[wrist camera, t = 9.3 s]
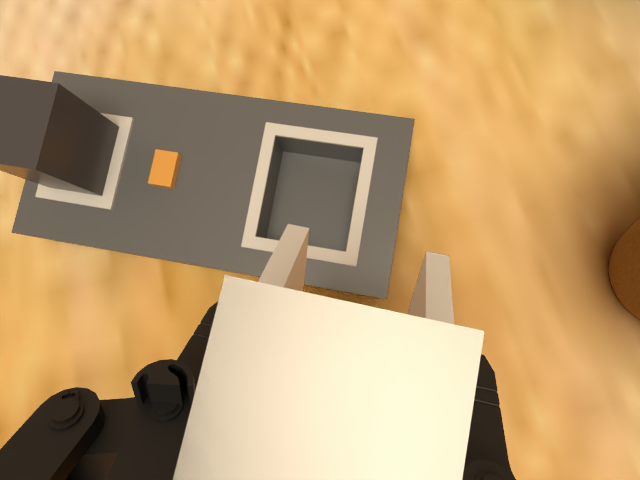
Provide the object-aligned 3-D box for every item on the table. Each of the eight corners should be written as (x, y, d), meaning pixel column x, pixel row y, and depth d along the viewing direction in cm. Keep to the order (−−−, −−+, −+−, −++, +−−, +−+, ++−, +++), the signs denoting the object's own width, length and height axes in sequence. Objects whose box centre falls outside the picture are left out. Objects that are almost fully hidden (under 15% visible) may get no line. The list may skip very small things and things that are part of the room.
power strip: (53, 240, 33) (-82, 215, 22) (89, 97, 34) (-22, 13, 24) (382, 298, 30) (396, 300, 20) (406, 141, 31) (432, 68, 21)
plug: (283, 418, 17) (134, 628, 6) (308, 301, 18) (225, 274, 7) (376, 442, 17) (425, 726, 5) (399, 321, 18) (484, 331, 6)
